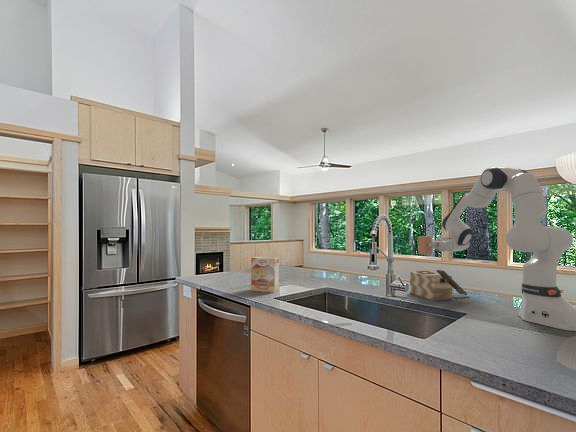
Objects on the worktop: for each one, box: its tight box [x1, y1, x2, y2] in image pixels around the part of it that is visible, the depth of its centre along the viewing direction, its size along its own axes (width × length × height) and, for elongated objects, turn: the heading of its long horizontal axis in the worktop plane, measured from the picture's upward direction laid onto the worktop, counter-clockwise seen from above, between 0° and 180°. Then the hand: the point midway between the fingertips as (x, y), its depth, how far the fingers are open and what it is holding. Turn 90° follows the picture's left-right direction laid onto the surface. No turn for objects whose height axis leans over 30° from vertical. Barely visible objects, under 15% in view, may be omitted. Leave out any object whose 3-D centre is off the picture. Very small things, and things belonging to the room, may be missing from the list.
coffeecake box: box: [250, 256, 280, 294], centre depth 183 cm, size 15×7×20 cm, turn 71°
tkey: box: [436, 269, 468, 296], centre depth 160 cm, size 8×2×19 cm
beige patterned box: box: [409, 270, 453, 301], centre depth 172 cm, size 18×12×13 cm, turn 18°
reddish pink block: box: [417, 235, 433, 255], centre depth 176 cm, size 5×5×10 cm
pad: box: [452, 292, 470, 300], centre depth 171 cm, size 9×9×1 cm
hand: (423, 244), depth 176 cm, fingers closed on reddish pink block, 5 cm apart
